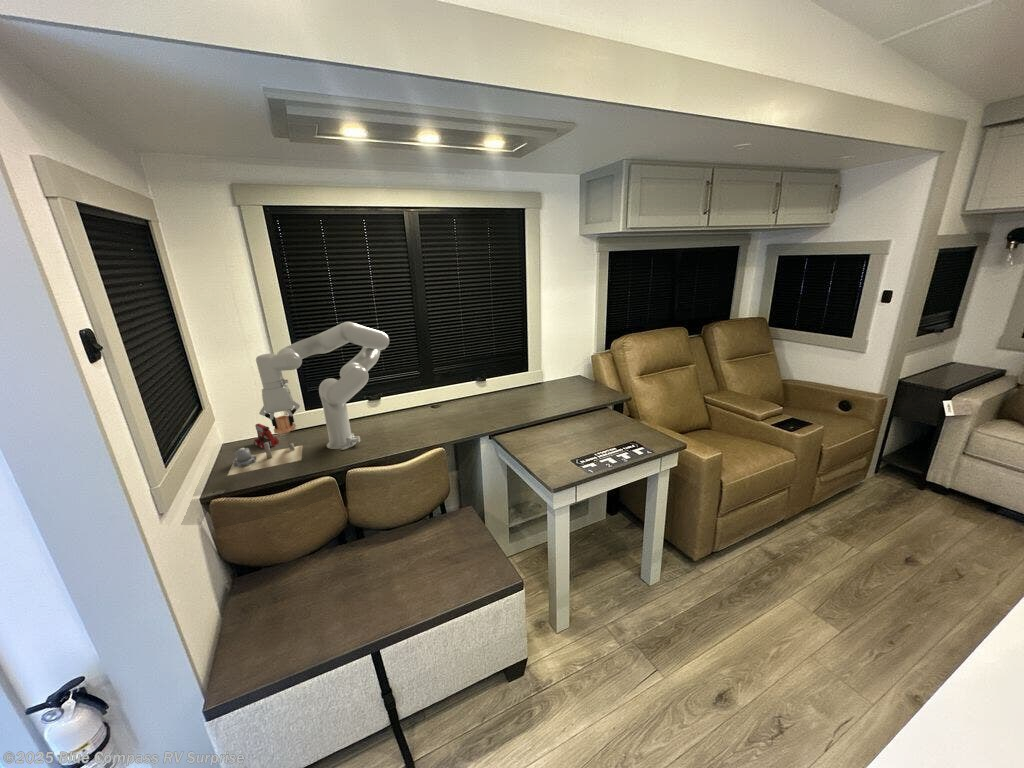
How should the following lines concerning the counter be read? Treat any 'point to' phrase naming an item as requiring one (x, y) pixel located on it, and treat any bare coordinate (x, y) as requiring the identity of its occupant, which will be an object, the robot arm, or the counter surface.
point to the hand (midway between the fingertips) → (284, 425)
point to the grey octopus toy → (244, 458)
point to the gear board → (271, 458)
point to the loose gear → (283, 425)
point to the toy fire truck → (264, 436)
